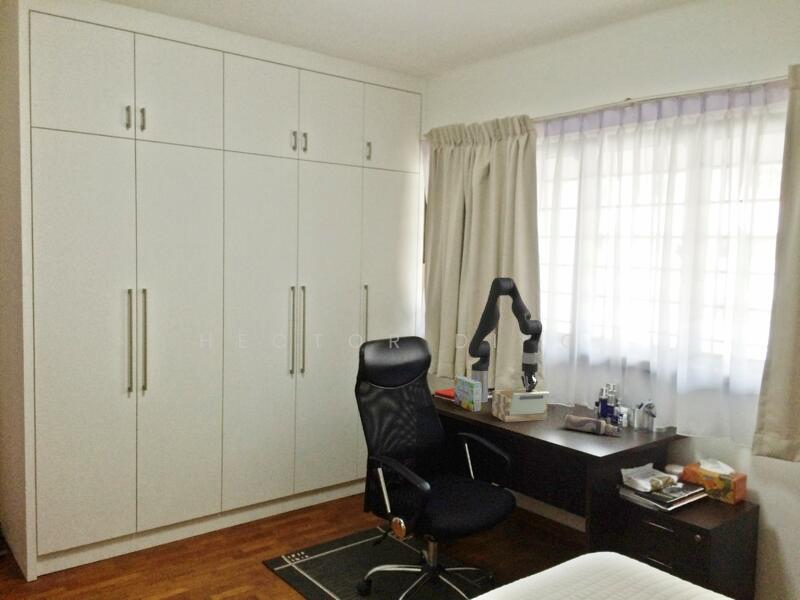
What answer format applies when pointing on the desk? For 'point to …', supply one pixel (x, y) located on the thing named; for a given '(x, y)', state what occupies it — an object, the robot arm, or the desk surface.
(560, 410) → the desk surface
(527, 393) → the white rectangular panel
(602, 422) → the decorative bottle
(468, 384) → the snack box
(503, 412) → the beige open box
